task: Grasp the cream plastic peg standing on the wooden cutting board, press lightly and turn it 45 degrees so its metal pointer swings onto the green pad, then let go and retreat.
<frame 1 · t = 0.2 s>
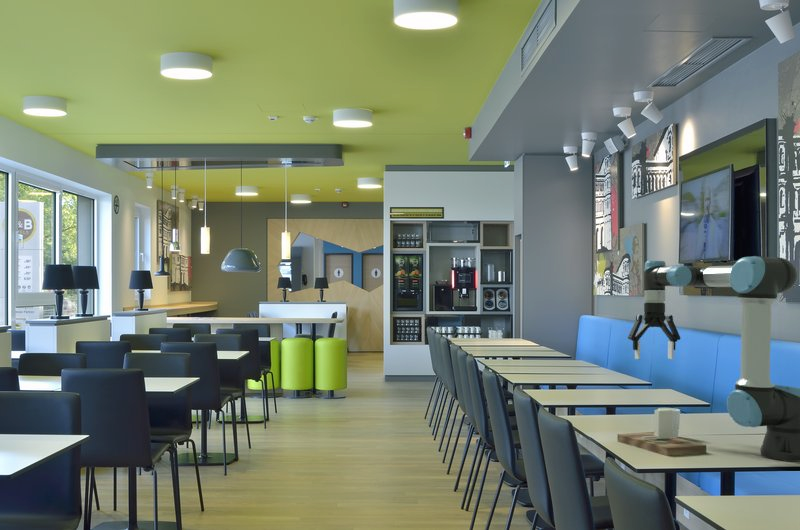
hand: (654, 359, 311), 28 cm above the table, fingers open, 13 cm apart
wooden cutting board: (660, 446, 284), on the table
peg: (656, 424, 284), point 8 cm above the table, hinge at 0.0°
white cup: (668, 437, 304), on the table
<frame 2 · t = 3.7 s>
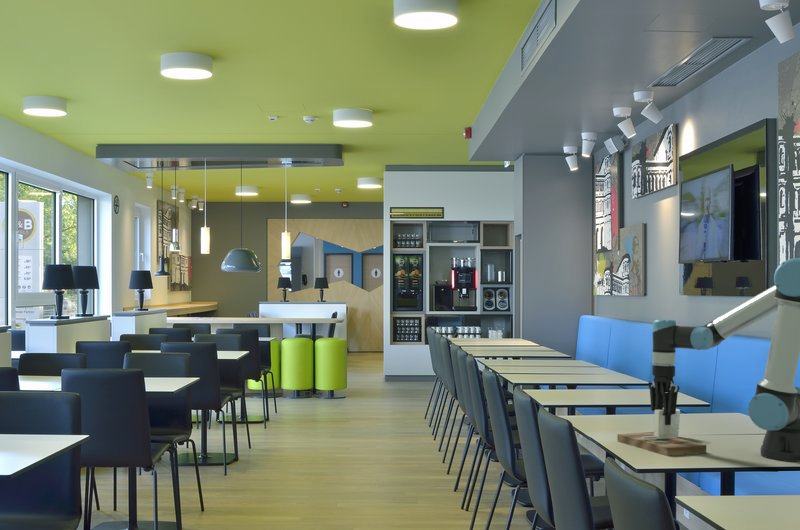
hand: (662, 433, 285), 4 cm above the table, fingers closed on peg, 2 cm apart
peg: (656, 424, 284), point 8 cm above the table, hinge at 0.0°, touching gripper
everything else where it was.
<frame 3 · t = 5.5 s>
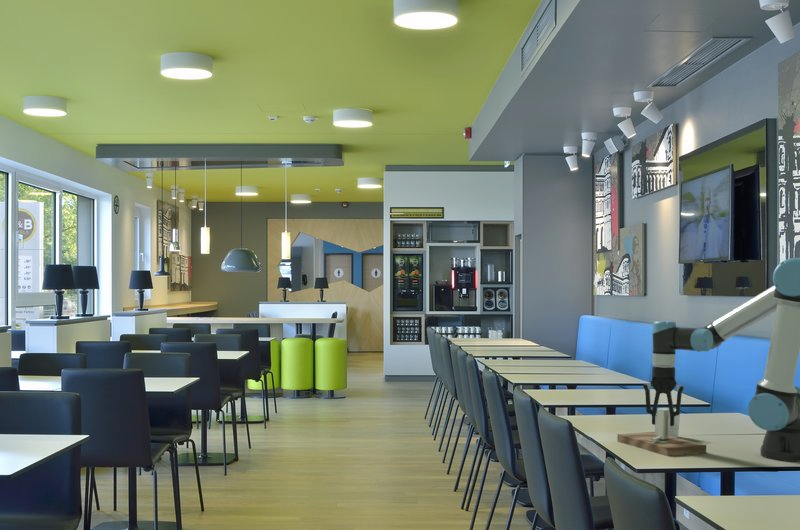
hand: (662, 434, 285), 4 cm above the table, fingers open, 3 cm apart
peg: (660, 424, 282), point 8 cm above the table, hinge at 31.0°
everything else where it was.
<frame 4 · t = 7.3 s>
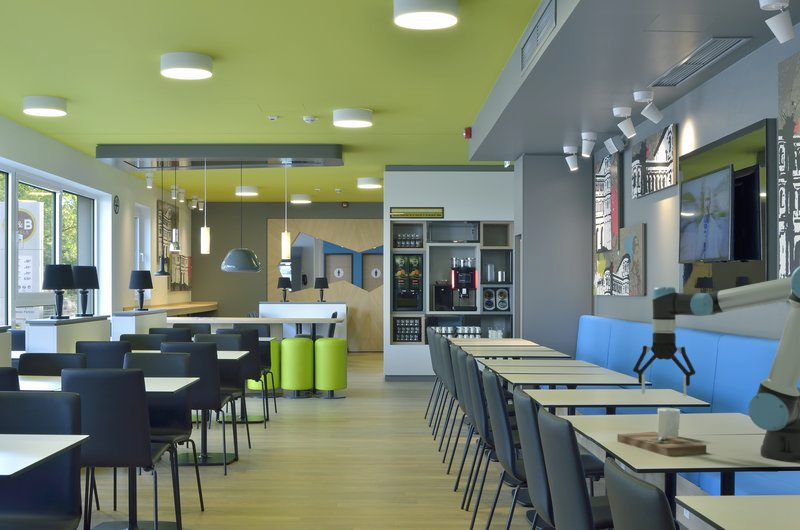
hand: (663, 394, 285), 18 cm above the table, fingers open, 13 cm apart
peg: (661, 425, 282), point 8 cm above the table, hinge at 41.7°
everything else where it was.
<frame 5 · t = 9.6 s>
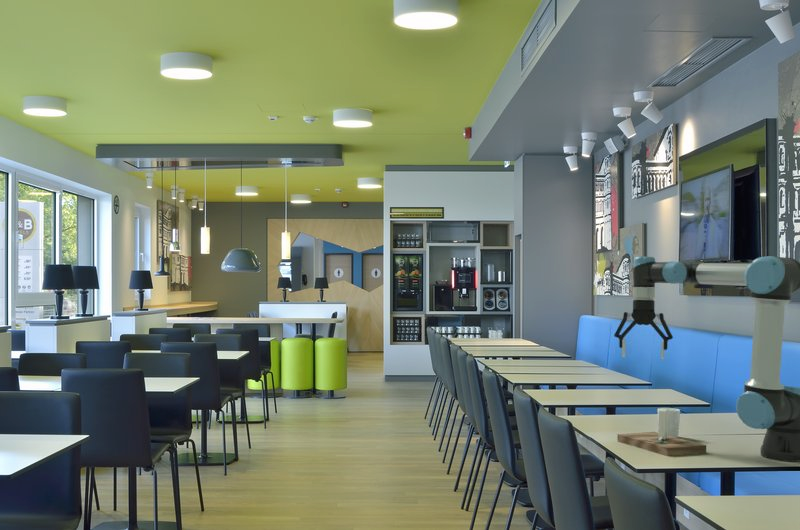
hand: (643, 358, 302), 29 cm above the table, fingers open, 13 cm apart
peg: (661, 425, 282), point 8 cm above the table, hinge at 42.6°
everything else where it was.
at the end: peg at +43° (first picture: +0°); the gripper is holding nothing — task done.
